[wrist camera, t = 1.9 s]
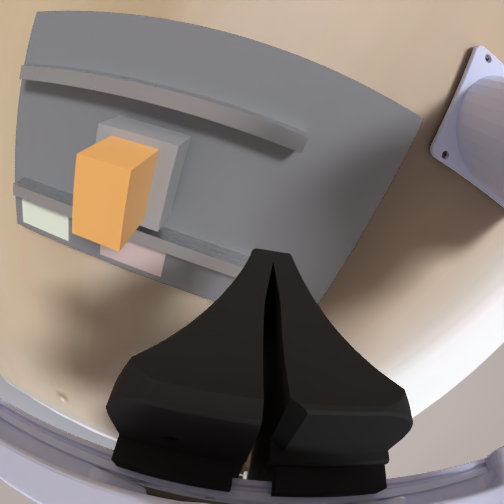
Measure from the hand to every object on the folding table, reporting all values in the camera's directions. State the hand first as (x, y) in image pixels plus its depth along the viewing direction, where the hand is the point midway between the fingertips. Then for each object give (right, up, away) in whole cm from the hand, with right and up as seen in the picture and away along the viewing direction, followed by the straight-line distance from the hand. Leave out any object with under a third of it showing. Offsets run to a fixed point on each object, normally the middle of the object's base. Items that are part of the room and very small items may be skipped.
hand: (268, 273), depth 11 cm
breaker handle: (-6, +5, +4) cm, 9 cm away
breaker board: (-5, +6, +6) cm, 10 cm away
